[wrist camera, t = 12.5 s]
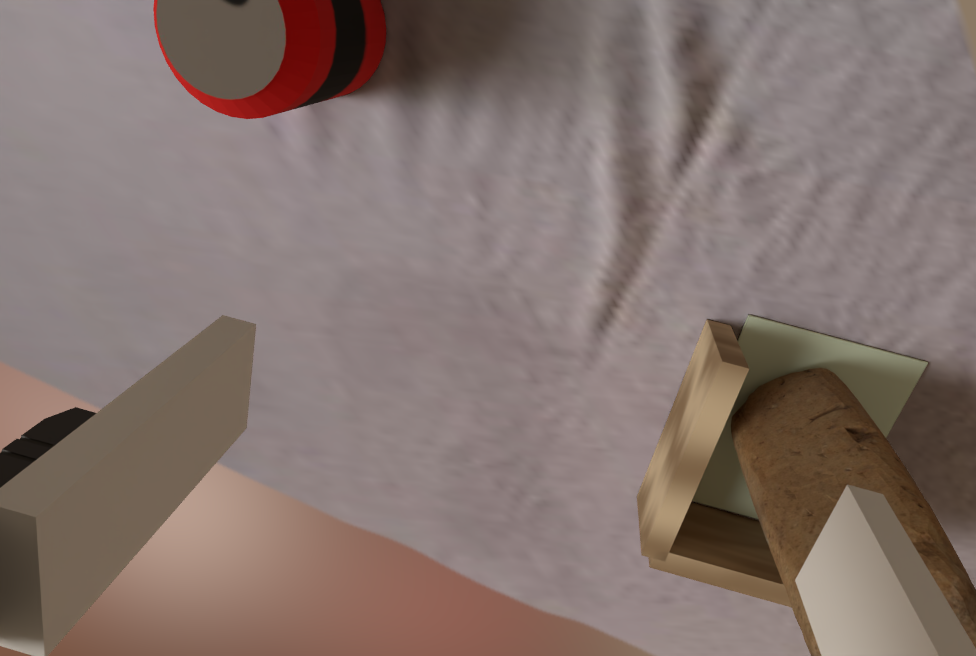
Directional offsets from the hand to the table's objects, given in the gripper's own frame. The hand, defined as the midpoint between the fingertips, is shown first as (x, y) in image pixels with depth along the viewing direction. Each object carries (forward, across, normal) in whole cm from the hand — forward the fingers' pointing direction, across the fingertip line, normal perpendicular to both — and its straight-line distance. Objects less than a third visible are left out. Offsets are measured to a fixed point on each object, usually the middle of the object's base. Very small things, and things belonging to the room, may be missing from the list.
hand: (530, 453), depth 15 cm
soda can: (+29, -16, +5) cm, 33 cm away
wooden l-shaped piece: (+29, +18, -14) cm, 36 cm away
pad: (+29, +18, -12) cm, 36 cm away
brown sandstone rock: (+29, +18, -12) cm, 36 cm away
